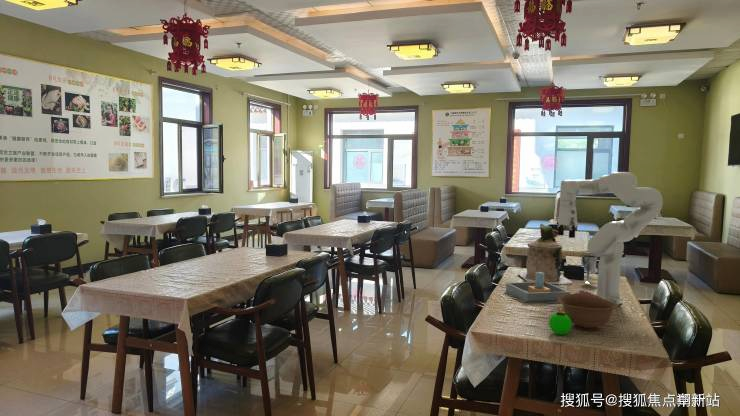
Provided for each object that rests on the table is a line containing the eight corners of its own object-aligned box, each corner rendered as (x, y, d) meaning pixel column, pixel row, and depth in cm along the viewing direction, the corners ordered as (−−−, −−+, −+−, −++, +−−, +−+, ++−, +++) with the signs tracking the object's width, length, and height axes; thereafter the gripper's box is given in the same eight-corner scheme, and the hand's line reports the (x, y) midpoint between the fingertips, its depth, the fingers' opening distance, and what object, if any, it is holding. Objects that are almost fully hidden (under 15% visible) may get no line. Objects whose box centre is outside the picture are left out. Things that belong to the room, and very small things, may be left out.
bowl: (604, 320, 207) (605, 294, 206) (626, 338, 185) (628, 309, 184) (550, 318, 209) (551, 292, 208) (565, 335, 187) (566, 306, 186)
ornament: (565, 330, 193) (567, 305, 192) (575, 338, 184) (576, 311, 184) (545, 330, 192) (546, 305, 191) (553, 337, 184) (554, 311, 183)
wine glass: (580, 283, 276) (582, 256, 275) (579, 280, 284) (580, 254, 283) (596, 284, 274) (597, 257, 273) (594, 281, 282) (595, 255, 280)
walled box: (569, 301, 237) (570, 291, 237) (527, 302, 233) (527, 293, 233) (545, 290, 259) (545, 281, 259) (505, 291, 255) (506, 282, 255)
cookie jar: (527, 284, 273) (530, 226, 270) (516, 274, 297) (518, 221, 295) (573, 285, 272) (576, 227, 270) (557, 275, 297) (560, 222, 294)
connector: (544, 293, 248) (545, 273, 247) (537, 293, 247) (538, 273, 246) (540, 291, 252) (541, 271, 251) (533, 291, 251) (534, 272, 250)
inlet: (550, 294, 246) (550, 289, 246) (536, 294, 245) (536, 289, 245) (542, 290, 254) (542, 285, 254) (528, 290, 253) (528, 286, 252)
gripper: (584, 204, 250) (583, 238, 252) (564, 202, 267) (562, 234, 268) (571, 204, 249) (569, 238, 250) (551, 202, 266) (550, 234, 267)
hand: (566, 236), depth 259 cm, fingers open, 9 cm apart
